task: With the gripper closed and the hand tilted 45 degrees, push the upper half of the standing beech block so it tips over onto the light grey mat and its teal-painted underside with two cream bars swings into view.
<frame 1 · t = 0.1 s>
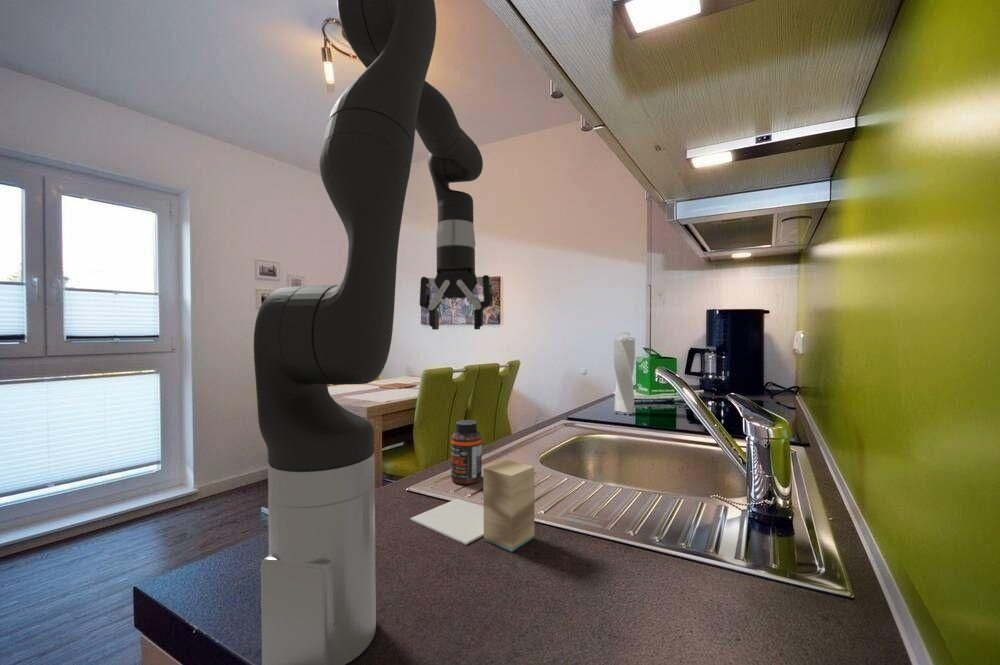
hand: (456, 329, 84), 29 cm above the table, tool pointing down, fingers open, 8 cm apart
beech block: (509, 539, 60), on the table
grey mat: (461, 520, 66), on the table
skyscraper: (624, 414, 148), on the table
supplement bottle: (466, 481, 83), on the table
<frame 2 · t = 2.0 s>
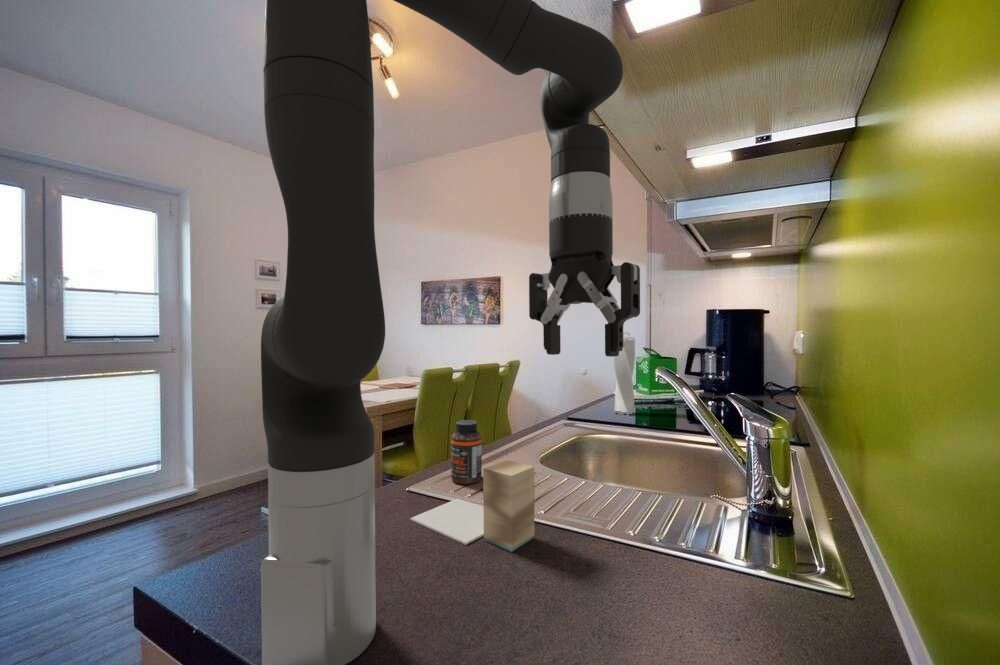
hand: (581, 355, 52), 26 cm above the table, tool pointing down, fingers open, 7 cm apart
nothing on the table moved.
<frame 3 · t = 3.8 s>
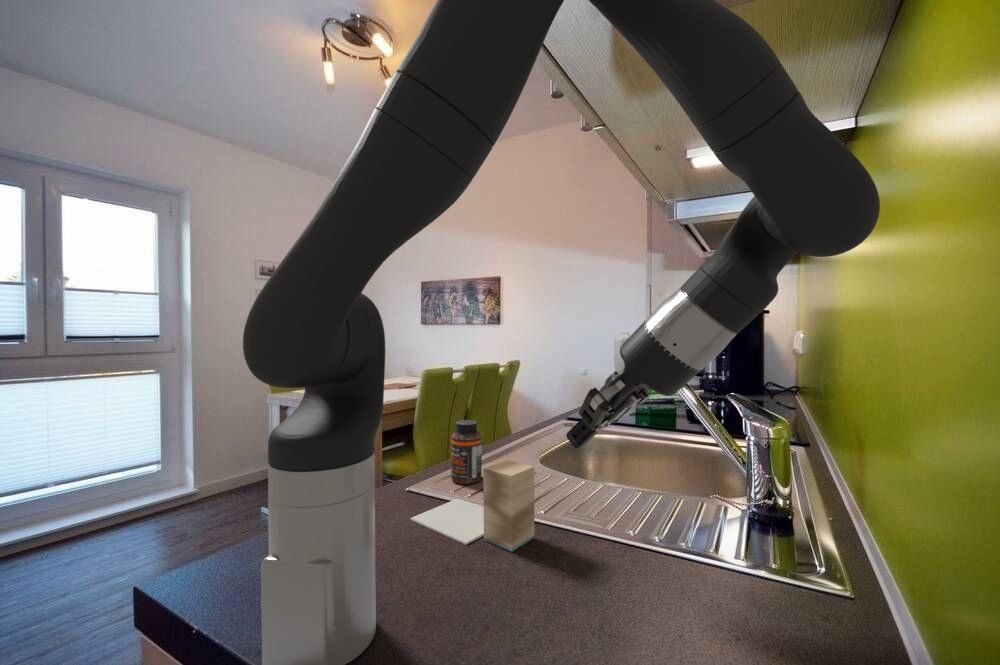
hand: (573, 441, 53), 15 cm above the table, tool tilted 45°, fingers closed
nothing on the table moved.
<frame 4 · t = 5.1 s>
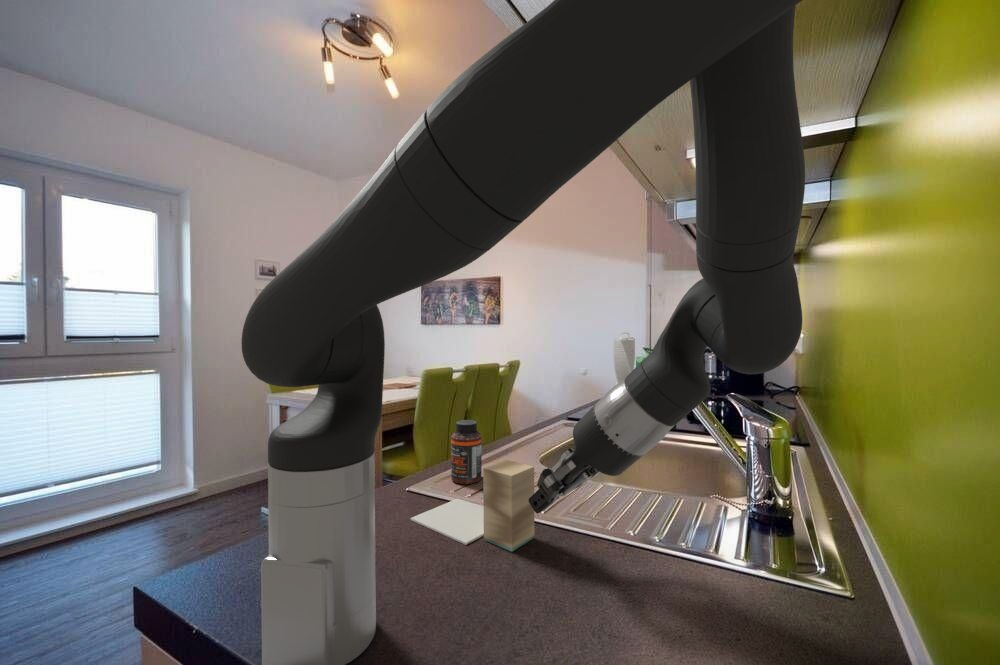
hand: (535, 505, 57), 6 cm above the table, tool tilted 45°, fingers closed
nothing on the table moved.
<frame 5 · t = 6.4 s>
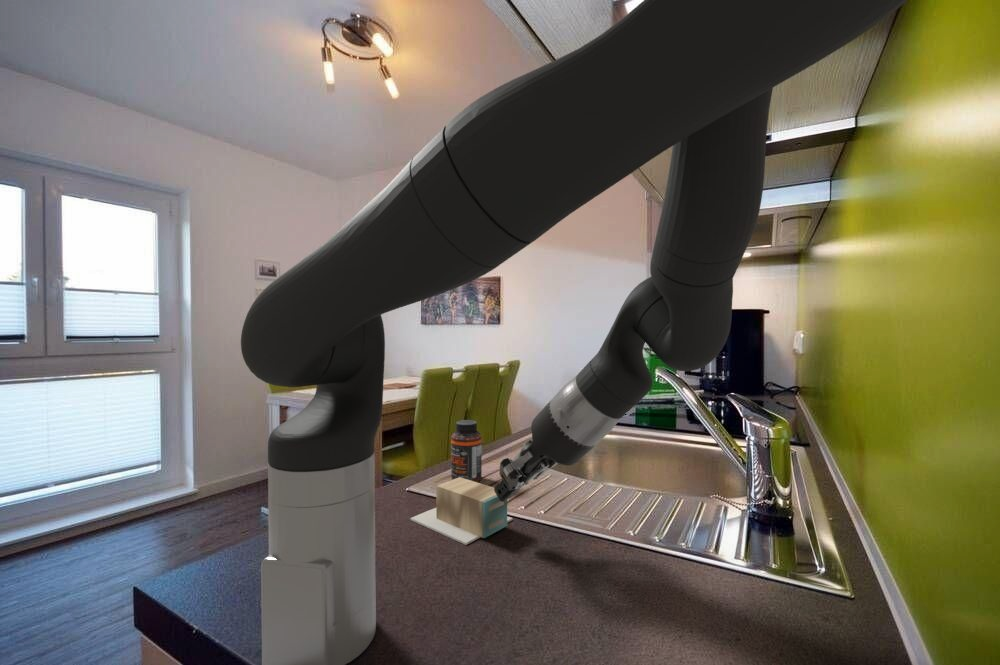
hand: (500, 494, 60), 6 cm above the table, tool tilted 45°, fingers closed
beech block: (496, 514, 61), point 3 cm above the table, tilted 90°, touching grey mat
everything else where it was.
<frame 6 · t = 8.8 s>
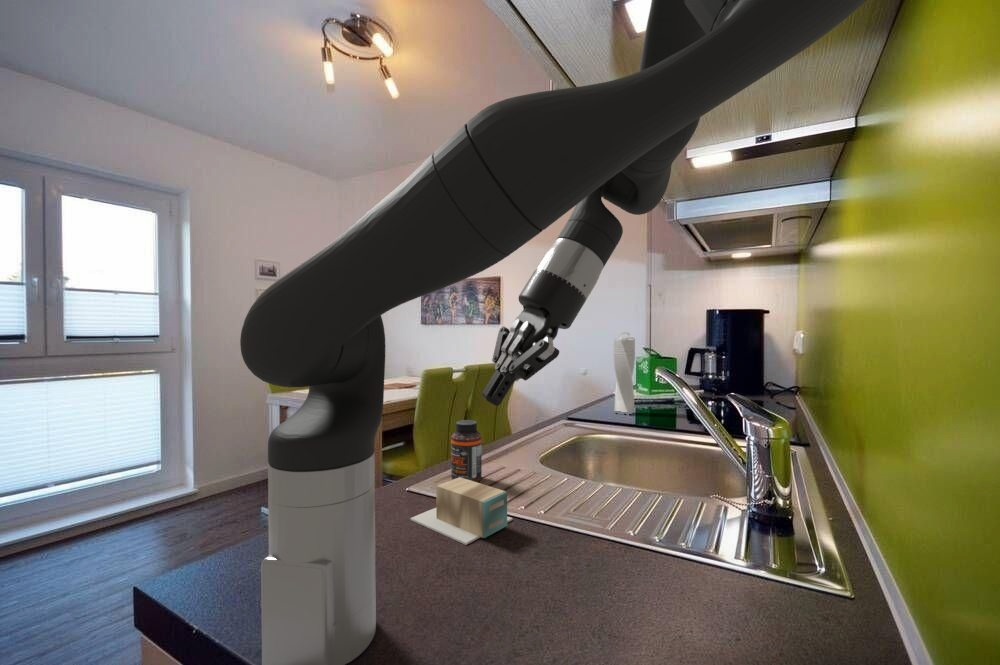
hand: (489, 401, 53), 20 cm above the table, tool tilted 35°, fingers closed
nothing on the table moved.
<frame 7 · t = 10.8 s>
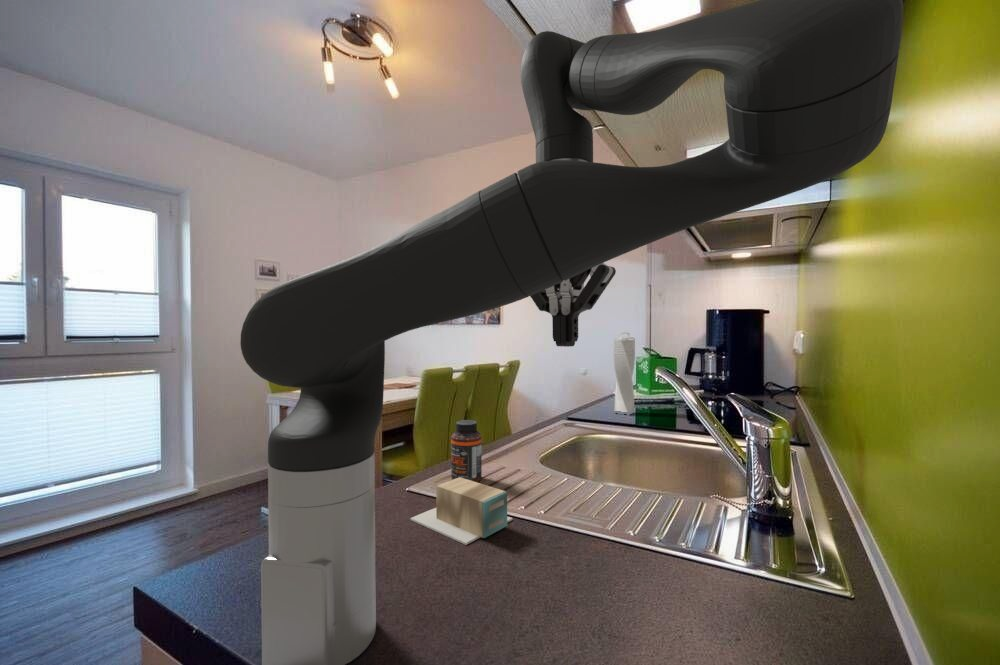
hand: (565, 346, 53), 27 cm above the table, tool pointing down, fingers closed
nothing on the table moved.
at the end: beech block tilted 90°; beech block inside the target area (4.9 cm from its centre), point 2.8 cm above the table; the gripper is holding nothing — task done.
